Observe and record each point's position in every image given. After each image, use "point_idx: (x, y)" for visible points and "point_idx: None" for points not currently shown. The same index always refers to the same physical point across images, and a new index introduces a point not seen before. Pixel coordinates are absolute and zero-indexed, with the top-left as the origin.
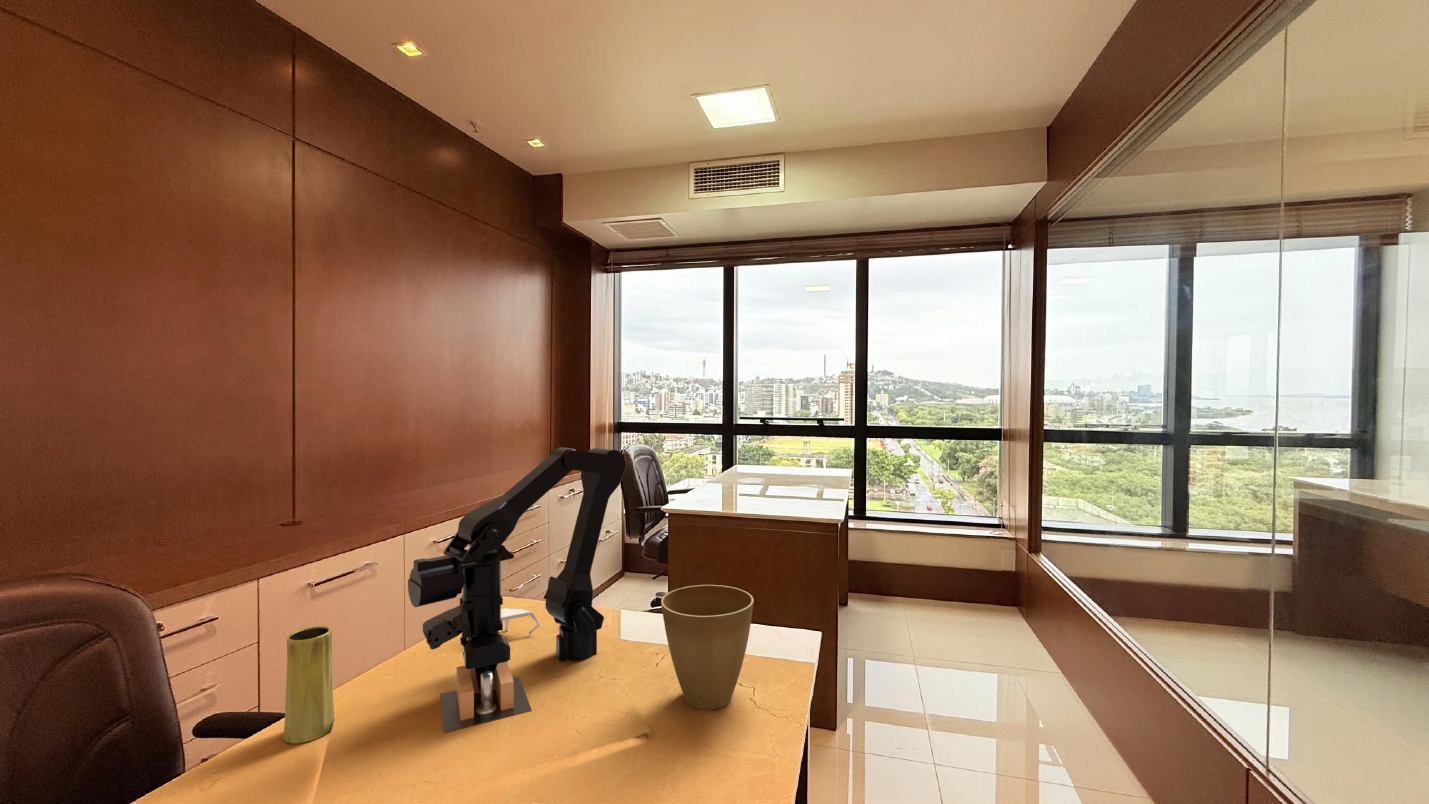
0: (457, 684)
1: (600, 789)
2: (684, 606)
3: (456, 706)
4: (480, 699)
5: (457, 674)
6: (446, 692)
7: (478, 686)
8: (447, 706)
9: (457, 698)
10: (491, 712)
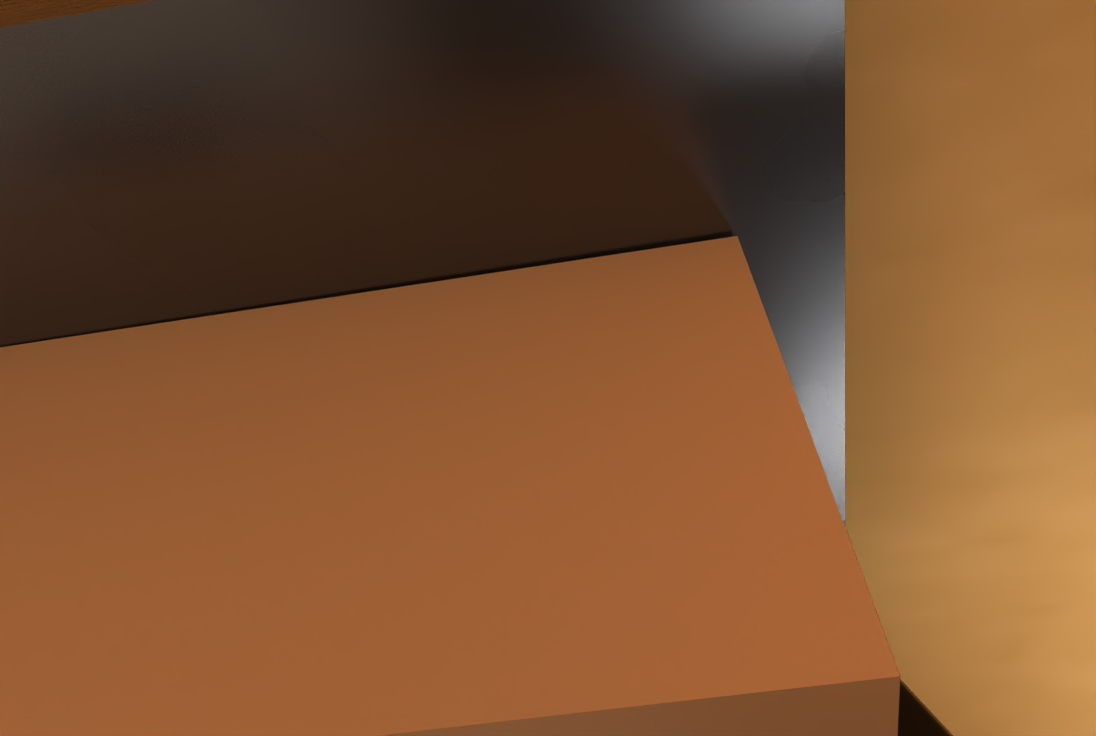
0: (379, 484)
1: None
2: None
3: (136, 294)
4: None
5: (334, 719)
6: (835, 23)
7: None
8: (158, 129)
9: (415, 292)
10: None
